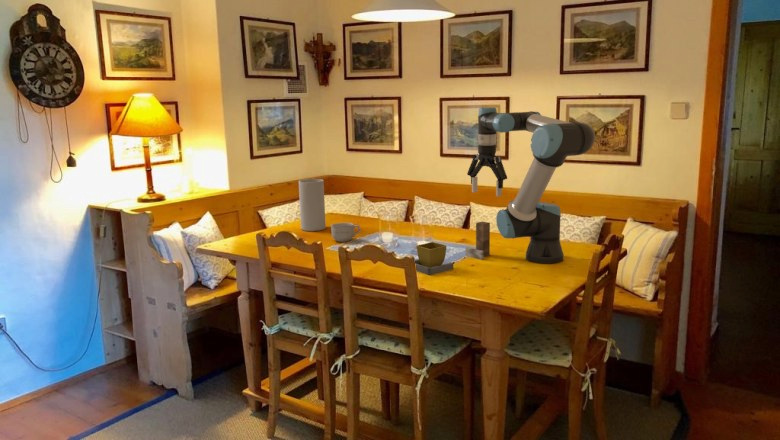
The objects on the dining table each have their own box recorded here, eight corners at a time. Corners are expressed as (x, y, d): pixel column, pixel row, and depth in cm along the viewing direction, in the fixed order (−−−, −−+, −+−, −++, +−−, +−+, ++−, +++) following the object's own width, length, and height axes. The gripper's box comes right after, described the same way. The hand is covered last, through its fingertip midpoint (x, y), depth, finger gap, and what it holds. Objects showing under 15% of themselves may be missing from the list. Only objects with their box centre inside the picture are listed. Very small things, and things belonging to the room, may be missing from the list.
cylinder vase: (324, 231, 323) (321, 182, 318) (299, 231, 323) (296, 182, 318) (326, 226, 335) (324, 178, 330) (303, 226, 335) (300, 179, 330)
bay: (453, 269, 251) (453, 263, 251) (429, 275, 244) (429, 269, 243) (429, 262, 262) (429, 256, 262) (406, 267, 255) (406, 261, 254)
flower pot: (430, 271, 249) (430, 249, 247) (416, 267, 256) (415, 245, 254) (447, 267, 254) (447, 245, 252) (432, 263, 261) (432, 241, 259)
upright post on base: (494, 256, 268) (494, 223, 265) (481, 259, 264) (481, 226, 261) (478, 252, 275) (478, 220, 272) (465, 255, 271) (465, 223, 268)
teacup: (327, 242, 300) (326, 225, 298) (338, 237, 310) (337, 221, 308) (354, 244, 295) (354, 227, 293) (364, 239, 305) (363, 222, 303)
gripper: (459, 143, 278) (459, 191, 282) (504, 147, 259) (503, 198, 264) (471, 141, 282) (470, 189, 287) (516, 145, 264) (515, 196, 268)
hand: (486, 193), depth 275 cm, fingers open, 13 cm apart
